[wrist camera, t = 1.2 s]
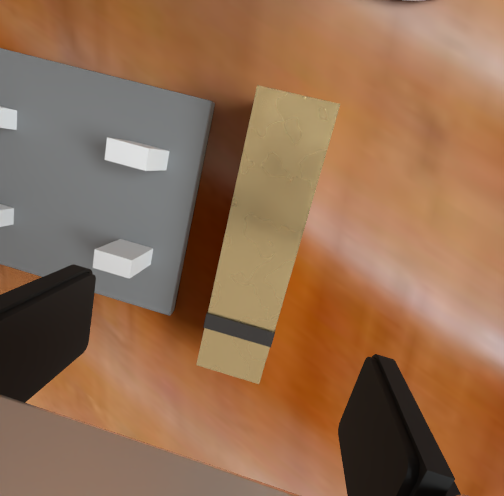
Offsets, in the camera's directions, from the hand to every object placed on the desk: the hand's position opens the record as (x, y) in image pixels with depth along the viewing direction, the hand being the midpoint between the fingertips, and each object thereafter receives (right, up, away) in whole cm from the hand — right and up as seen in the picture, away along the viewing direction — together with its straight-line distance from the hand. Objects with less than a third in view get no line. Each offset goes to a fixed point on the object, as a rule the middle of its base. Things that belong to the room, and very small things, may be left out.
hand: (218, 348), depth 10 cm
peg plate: (-14, +9, +17) cm, 23 cm away
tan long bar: (+2, +4, +16) cm, 16 cm away
